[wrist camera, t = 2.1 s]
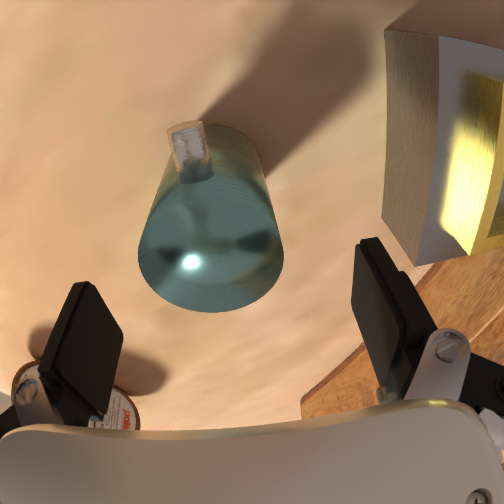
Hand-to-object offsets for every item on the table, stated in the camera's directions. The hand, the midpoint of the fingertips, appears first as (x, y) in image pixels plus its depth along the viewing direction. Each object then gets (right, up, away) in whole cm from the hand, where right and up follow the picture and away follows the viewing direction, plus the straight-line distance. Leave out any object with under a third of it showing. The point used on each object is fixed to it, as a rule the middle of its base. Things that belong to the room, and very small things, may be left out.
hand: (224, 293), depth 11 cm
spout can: (-1, +6, +6) cm, 9 cm away
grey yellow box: (+16, +9, +5) cm, 19 cm away
